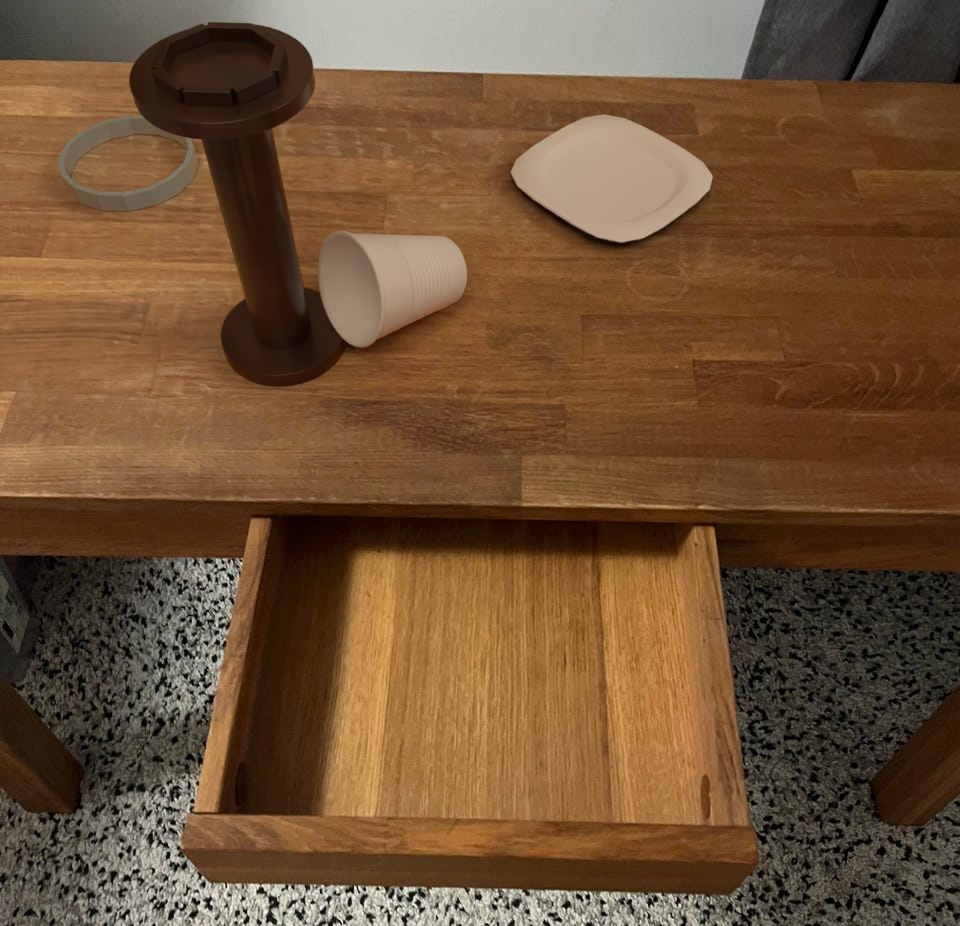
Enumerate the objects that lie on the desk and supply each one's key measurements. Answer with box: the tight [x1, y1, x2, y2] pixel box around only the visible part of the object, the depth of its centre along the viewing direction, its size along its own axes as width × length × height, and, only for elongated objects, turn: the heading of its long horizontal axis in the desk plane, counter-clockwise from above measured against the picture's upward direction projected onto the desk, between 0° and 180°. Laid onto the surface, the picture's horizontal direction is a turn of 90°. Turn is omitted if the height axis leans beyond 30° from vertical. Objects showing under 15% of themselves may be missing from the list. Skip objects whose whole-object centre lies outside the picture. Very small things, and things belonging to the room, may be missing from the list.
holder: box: [128, 21, 347, 387], centre depth 68 cm, size 12×12×27 cm
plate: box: [510, 114, 714, 245], centre depth 92 cm, size 18×18×2 cm
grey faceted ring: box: [57, 114, 199, 212], centre depth 92 cm, size 14×14×2 cm
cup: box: [317, 230, 468, 349], centre depth 77 cm, size 10×10×11 cm
